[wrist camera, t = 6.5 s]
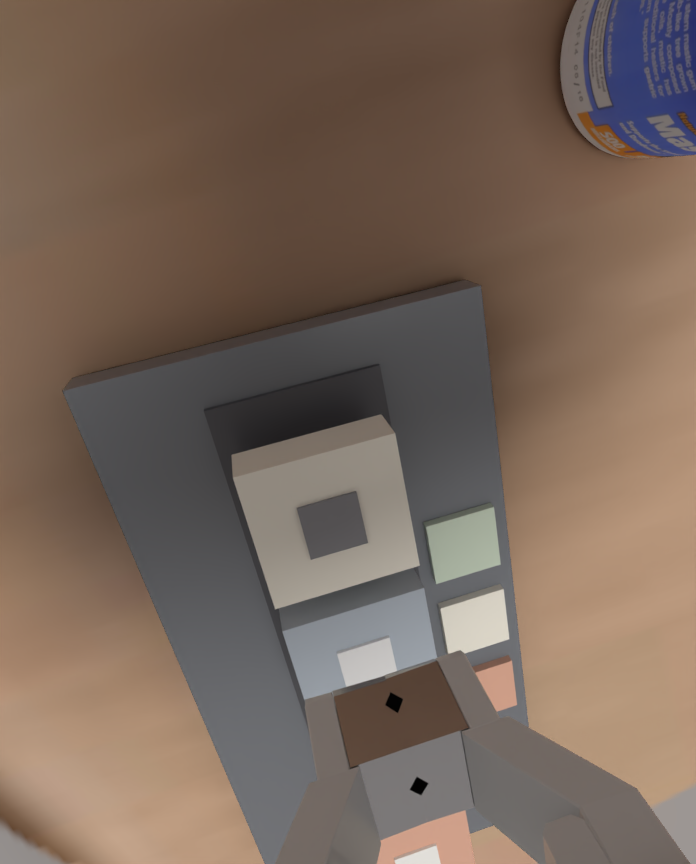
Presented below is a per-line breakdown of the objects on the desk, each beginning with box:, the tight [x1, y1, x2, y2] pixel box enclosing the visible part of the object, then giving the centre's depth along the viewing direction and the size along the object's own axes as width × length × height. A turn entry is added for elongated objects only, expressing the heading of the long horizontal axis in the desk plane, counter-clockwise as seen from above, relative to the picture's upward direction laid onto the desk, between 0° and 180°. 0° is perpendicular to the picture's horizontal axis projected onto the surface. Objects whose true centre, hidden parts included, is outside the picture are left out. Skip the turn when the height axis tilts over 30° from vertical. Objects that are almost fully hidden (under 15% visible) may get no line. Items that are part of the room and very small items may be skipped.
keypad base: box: [63, 280, 529, 864], centre depth 22 cm, size 24×12×2 cm, turn 12°
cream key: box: [231, 414, 420, 609], centre depth 16 cm, size 4×4×2 cm
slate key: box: [279, 568, 437, 700], centre depth 18 cm, size 4×4×2 cm
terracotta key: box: [377, 810, 475, 864], centre depth 22 cm, size 4×4×2 cm
